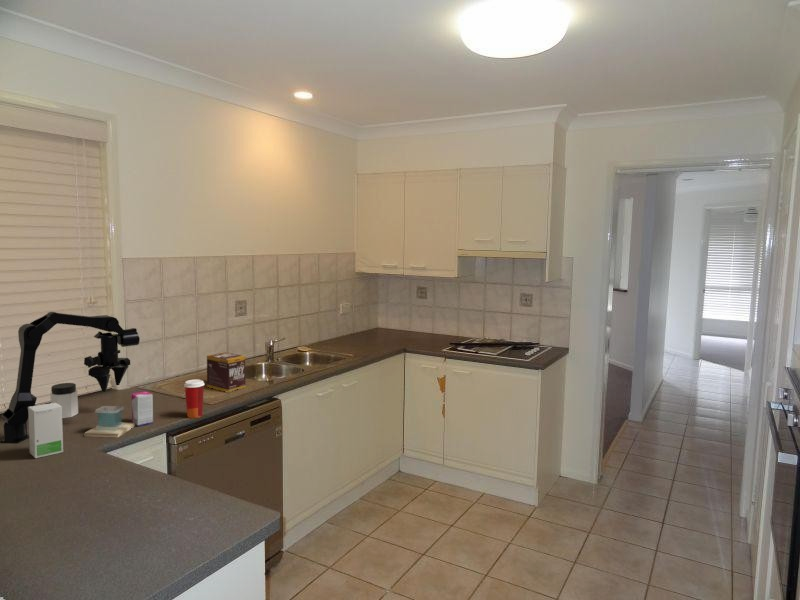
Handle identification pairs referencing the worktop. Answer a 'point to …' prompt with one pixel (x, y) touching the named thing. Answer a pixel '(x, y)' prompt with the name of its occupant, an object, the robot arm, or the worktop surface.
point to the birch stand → (110, 431)
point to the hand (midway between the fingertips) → (111, 388)
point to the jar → (65, 398)
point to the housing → (109, 418)
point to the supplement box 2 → (225, 371)
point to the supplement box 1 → (142, 408)
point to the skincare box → (45, 430)
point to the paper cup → (194, 398)
